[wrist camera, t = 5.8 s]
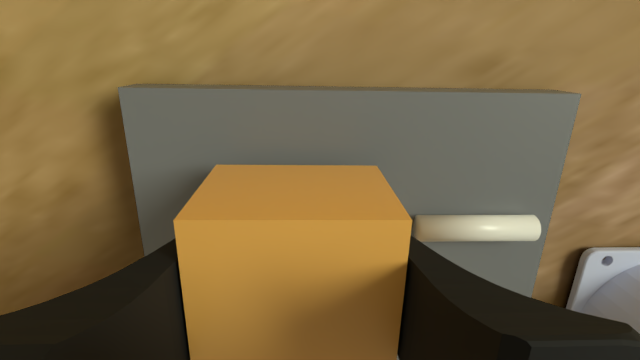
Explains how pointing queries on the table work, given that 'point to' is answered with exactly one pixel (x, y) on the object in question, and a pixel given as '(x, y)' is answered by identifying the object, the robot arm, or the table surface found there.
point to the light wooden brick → (293, 263)
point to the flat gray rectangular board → (370, 157)
